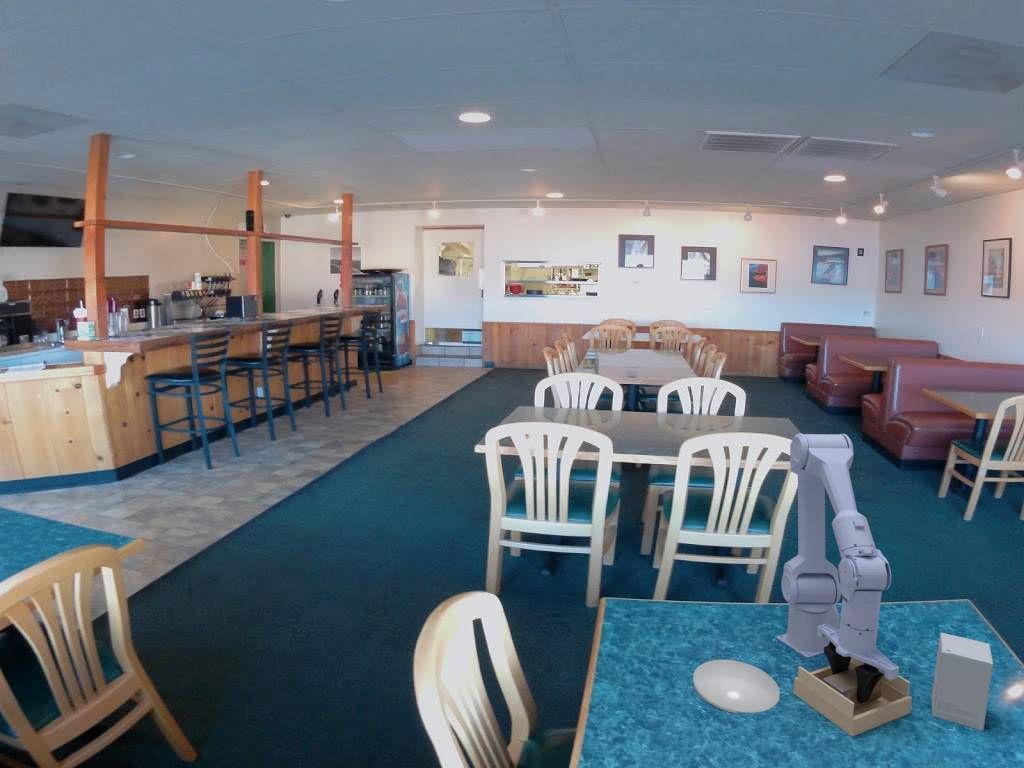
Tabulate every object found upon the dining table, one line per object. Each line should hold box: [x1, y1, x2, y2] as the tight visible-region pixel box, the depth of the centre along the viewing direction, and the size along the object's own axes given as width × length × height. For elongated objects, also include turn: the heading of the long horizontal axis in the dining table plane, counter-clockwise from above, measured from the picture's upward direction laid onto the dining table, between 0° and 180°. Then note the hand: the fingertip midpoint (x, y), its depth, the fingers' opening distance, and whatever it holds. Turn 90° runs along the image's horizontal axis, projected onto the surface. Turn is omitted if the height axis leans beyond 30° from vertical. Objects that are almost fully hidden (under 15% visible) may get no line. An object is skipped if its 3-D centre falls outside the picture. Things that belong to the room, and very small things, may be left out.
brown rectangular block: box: [823, 668, 883, 708], centre depth 116 cm, size 10×4×4 cm, turn 114°
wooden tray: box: [792, 658, 913, 737], centre depth 116 cm, size 14×12×6 cm
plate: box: [692, 659, 781, 715], centre depth 121 cm, size 15×15×1 cm
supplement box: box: [931, 632, 994, 731], centre depth 113 cm, size 7×7×13 cm
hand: (851, 693), depth 116 cm, fingers closed on brown rectangular block, 4 cm apart
